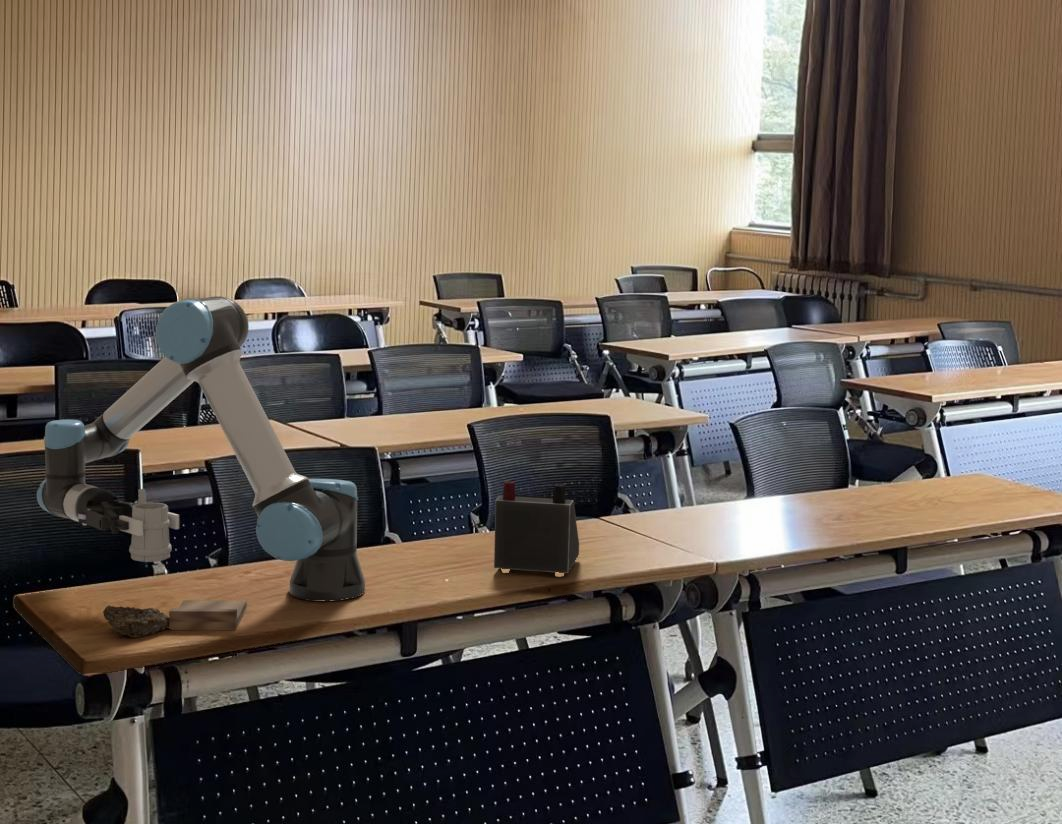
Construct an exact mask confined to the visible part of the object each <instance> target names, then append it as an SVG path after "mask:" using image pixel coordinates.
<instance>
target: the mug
mask: <svg viewBox="0 0 1062 824" xmlns="http://www.w3.org/2000/svg"><path fill="white" fill-rule="evenodd" d="M137 491H138V492H137V493H138V495H137V496H138V497H137V498H138V499H137V500H138V504H136V505H134V506H133V507H132V518H134V519H137V520H140V521H143V536H137V535H134V534H131V543H130V545H129V549H128V552H129V553H130V558H131V559H132V560H133V561H135V562H136V561H137V562H143V563H152V562H162V561H165V560H167V559H169V558H171V552H172V550H173V549H172V544H171V543H170V528H169V525H170V520H169V519H168V507H169V506H168V505H167V504H166V503H163V502H151V501H150V502H147V495H146V489H145V488H139V489H138V490H137Z"/></svg>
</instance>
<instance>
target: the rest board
mask: <svg viewBox="0 0 1062 824" xmlns="http://www.w3.org/2000/svg"><path fill="white" fill-rule="evenodd" d="M247 602H248V601H247V600H199V599H198V600H196V599H195V600H188V599H187V600H185V599H184V600H182V602H181V603H180V605H179V606H178V608H170V609H169V610H168V617H169V627H168V628H169V629H171V630H170V631H173V630H174V631H175V630H176V631H181V630H182V631H192V630H193V631H236V630H237V629H238V627H239V625H240V622H241V621H242V618H243V617H244V615H245V613H244V612H246V611H247V609H246V608H247V606H248V605H247V604H248V603H247ZM245 610H246V611H245ZM243 614H244V615H243Z"/></svg>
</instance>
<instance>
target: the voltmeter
mask: <svg viewBox="0 0 1062 824" xmlns="http://www.w3.org/2000/svg"><path fill="white" fill-rule="evenodd" d="M552 493H553V494H552V496H540V495H538V496H537V495H526V494H525V495H524V494H516V482H515V481H510V480H506V481H503V490H502V495H498V497H497V498H496V499H495V502H494V503H495V506H494V507H495V509H494V511H495V512H494V513H495V514H494V555H493V568H494V569H500V568H502V569H511V570H520V571H532V572H534V571H535V572H548V573H554V572H559V573H565V574H569V572H570V571H569V570H571V569H572V568H571V567H573V566H574V564H575V562H576V561H577V559H578V557H579V556H580V540H579V539H580V538H579V531H578V524H577V517H576V516H577V515H576V509H575V502H574V501H575V500H574V499H568V497H566V485H564V484H561V483H560V484H559V483H557V484H553V492H552ZM578 555H579V556H578ZM576 558H577V559H576ZM575 560H576V561H575ZM572 565H573V566H572Z"/></svg>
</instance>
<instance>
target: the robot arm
mask: <svg viewBox="0 0 1062 824" xmlns="http://www.w3.org/2000/svg"><path fill="white" fill-rule="evenodd" d="M249 328H250V326H249V320H248V316H247V314H246V312H245V311H244V309H243V308H242V306H241V305H240V304H239V303H237V302H236V301H235V300H233V299H231V298H228V297H226V296H225V297H224V296H219V295H218V296H209V297H200V298H193V297H191V298H185V299H183V300H178V301H175V302H173V303H172V304H170V305H168V306H167V307H166V308H165V309H164V310H163V311H162V313H161V314H160V316H159V318H158V320H157V325H156V327H155V338H156V339H155V340H156V343H157V345H158V348H159V350H160V352H161V353H162V354H163V355H164V357H163V358H162V359H161V360H160V361H159V362H158V363H157V364H156V365H154V366H153V367H152V368H151V369H150V370H149V371H148V372H147V373H145V374H144V375H143V376H142V377H141V378H140V379H139V380H138V381H137V382H135V383H134V384H133V386H131V387H130V388H129V389H128V390H127V391H126V392H124V393H123V394H122V396H120V397H119V398H118V399H117V400H116V401H115V402H114V403H113V404H112V405H110V406H109V407H108V408H107V409H106V410H105V411H104V412H103V413H102V414H101V415H100V416H98V417H97V419H95V420H94V421H93V422H92V423H89V424H86V425H85V424H84V423H83V421H81V420H78V419H58V420H57V419H56V420H52V421H49V422H47V423H46V425H45V429H44V431H45V432H44V441H43V444H44V456H45V457H44V459H45V461H44V462H45V478H44V480H43V481H42V482H40V484H39V487H38V489H37V490H36V500H37V503H38V504H39V506H40V508H41V509H42V510H43V511H46V512H47V513H49V514H51V515H53V516H55V517H58V518H60V517H61V518H65V519H69V520H72V521H74V522H78V523H80V524H81V525H82V526H90V527H92V528H94V529H97V530H100V531H103V532H106V531H108V530H109V529H111V534H113V535H117V534H119V531H120V532H125V533H128V534H131V535H132V534H134V535H137V536H143V521H140V520H137V519H134V518H132V507H133V506H134V505H136V504H138V499H136V500H134V503H133V502H130V501H123V500H122V499H118V498H117V496H116V495H115V493H113V492H112V491H111V490H109V489H108V490H107V489H104V488H101V487H98V486H94V485H90V484H87V483H86V464H88V463H91V462H95V461H98V460H101V459H105V458H112V457H114V456H116V455H118V454H120V453H122V452H123V451H125V450H126V449H127V447H128V445H129V443H130V439H131V438H133V436H134V435H135V434H137V433H138V432H139V431H140V430H141V429H142V428H143V427H144V426H146V424H148V423H149V422H150V421H151V420H152V419H154V418H155V417H156V416H157V415H158V414H159V413H160V412H162V410H163V409H165V408H166V407H167V406H168V405H169V404H170V403H171V402H173V400H175V399H176V398H177V397H179V396H180V395H181V394H182V392H184V391H185V390H186V389H187V388H189V386H190V385H192V384H193V383H194V382H196V383H198V385H199V387H200V388H201V391H202V393H203V394H204V396H205V398H206V400H207V402H208V404H209V406H210V407H211V409H212V412H213V414H214V415H215V417H216V420H217V421H218V424H219V425H220V427H221V429H222V431H223V433H224V435H225V437H226V439H227V441H228V443H229V445H230V447H231V449H232V451H233V452H234V454H235V457H236V458H237V461H238V463H239V465H240V466H241V469H242V470H243V472H244V474H245V476H246V478H247V480H248V482H249V485H250V486H251V487H252V490H253V492H254V498H253V502H252V508H253V510H254V511H255V513H256V515H257V520H256V526H255V533H256V537H257V540H258V543H259V544H260V546H261V547H262V549H264V551H265V552H266V553H267V554H268V555H270V556H271V557H273V558H275V559H277V560H281V561H283V562H295V564H294V568H293V570H292V573H291V576H290V580H289V594H290V595H291V596H292V595H293V596H292V597H295V598H297V599H300V598H301V599H300V600H304V599H306V600H305V601H311V600H325V601H324V602H331V601H330V600H340V601H342V600H341V599H346V598H352V597H355V598H357V597H356V596H358V595H360V594H362V593H363V594H365V592H366V580H365V577H364V573H363V570H362V567H361V564H360V563H361V562H360V561H359V557H358V554H357V552H358V550H357V543H358V541H357V539H358V533H357V532H358V500H359V497H358V490H357V485H356V484H355V483H354V482H352V481H350V480H343V479H333V478H332V479H330V478H309V477H307V476H304V475H301V474H299V473H297V472H296V470H295V468H294V466H293V464H292V462H291V461H290V459H289V457H288V454H287V453H286V450H285V449H284V446H283V444H281V441H280V439H279V437H278V436H277V434H276V432H275V430H274V428H273V426H272V424H271V421H270V419H269V418H268V416H267V414H266V412H265V410H264V408H263V406H262V404H261V402H260V400H259V398H258V396H257V394H256V393H255V390H254V389H253V386H252V385H251V383H250V381H249V379H248V377H247V375H246V373H245V371H244V369H243V368H242V365H241V363H240V361H241V357H242V354H243V350H242V348H241V347H242V346H243V345H244V344H245V342H246V340H247V338H248V334H249ZM168 519H169V520H170V525H169V529H174V530H179V529H180V514H177V513H174V512H170V507H169V506H168ZM364 591H365V592H364ZM363 594H362V595H363ZM360 596H361V595H360ZM358 597H359V596H358ZM307 599H308V600H307ZM352 599H353V598H352Z"/></svg>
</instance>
